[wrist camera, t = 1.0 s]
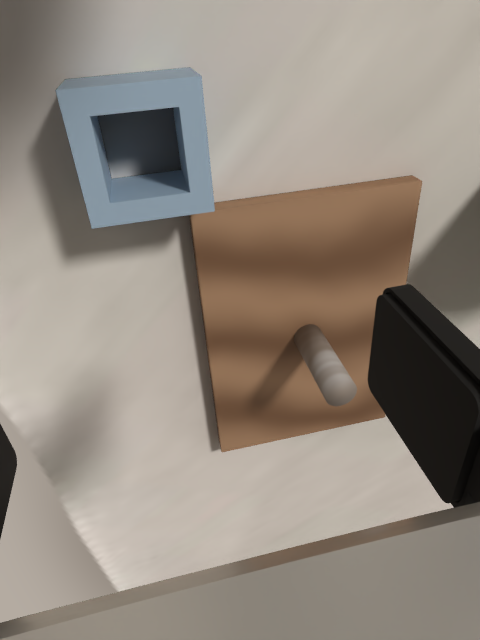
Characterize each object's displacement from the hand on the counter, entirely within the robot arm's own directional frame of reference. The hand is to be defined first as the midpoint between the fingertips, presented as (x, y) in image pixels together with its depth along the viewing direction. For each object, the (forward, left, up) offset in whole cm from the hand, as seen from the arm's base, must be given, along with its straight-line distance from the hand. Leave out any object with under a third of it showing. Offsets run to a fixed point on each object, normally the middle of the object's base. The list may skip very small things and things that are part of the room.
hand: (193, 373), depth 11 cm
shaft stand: (+12, +9, -17) cm, 23 cm away
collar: (-2, 0, -17) cm, 17 cm away
